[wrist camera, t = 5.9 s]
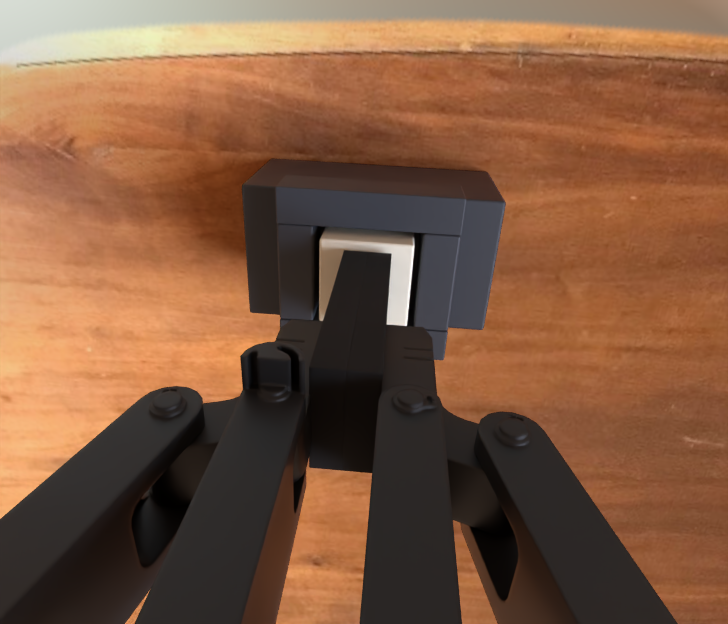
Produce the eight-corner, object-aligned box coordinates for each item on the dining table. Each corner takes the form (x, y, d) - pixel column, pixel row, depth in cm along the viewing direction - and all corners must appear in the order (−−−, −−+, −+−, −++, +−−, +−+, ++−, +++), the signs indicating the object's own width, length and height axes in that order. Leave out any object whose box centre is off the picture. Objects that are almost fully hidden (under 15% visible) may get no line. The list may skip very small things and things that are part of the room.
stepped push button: (275, 277, 24) (238, 344, 19) (269, 146, 21) (225, 182, 16) (469, 291, 24) (487, 364, 19) (490, 160, 21) (518, 202, 16)
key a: (325, 299, 19) (318, 322, 18) (326, 221, 18) (318, 239, 16) (406, 305, 19) (406, 329, 18) (413, 227, 18) (414, 245, 16)
